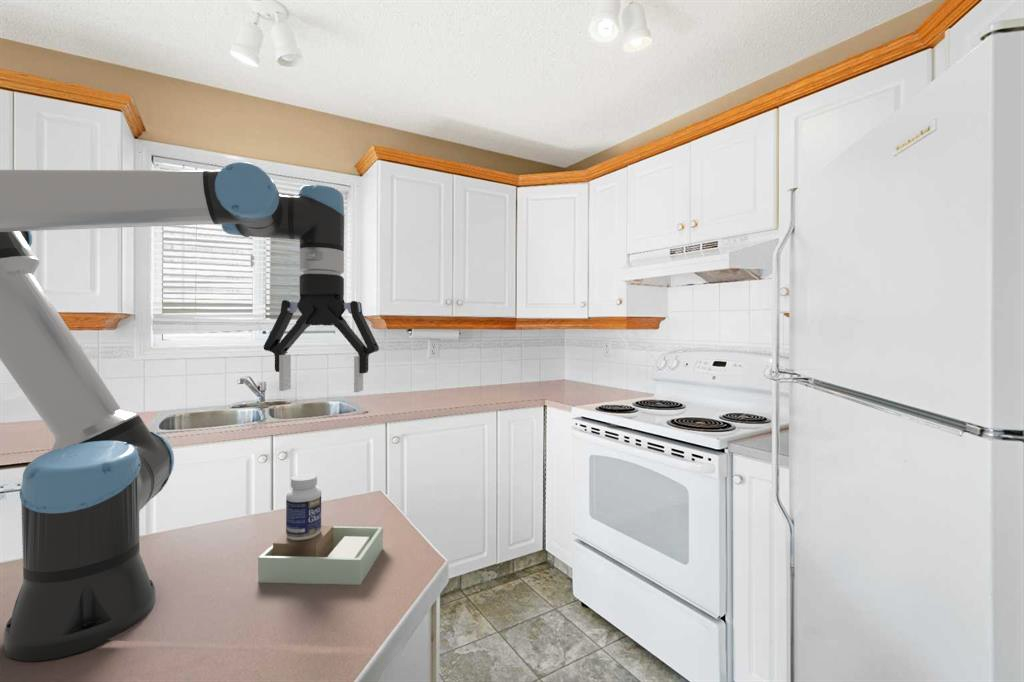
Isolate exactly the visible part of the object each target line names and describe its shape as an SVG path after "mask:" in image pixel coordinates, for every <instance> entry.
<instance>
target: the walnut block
mask: <svg viewBox="0 0 1024 682" xmlns="http://www.w3.org/2000/svg"><path fill="white" fill-rule="evenodd" d="M333 526H334V525H321V531H320V533H319V534H318V535H317V536H315V537H314V538H311V539H307V540H299V541H296V540H290V539H288V538H287V536H286V531H285V532H284V533H283V534H282V535H280V537H279V538H277V539H276V540H274V542H273V543H272V545H273V556H298V557H328V555H329V554H330V553H331V552H332V551H333Z"/></svg>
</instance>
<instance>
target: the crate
mask: <svg viewBox="0 0 1024 682" xmlns="http://www.w3.org/2000/svg"><path fill="white" fill-rule="evenodd" d="M332 526H333V549H334V548H335V547H336V546H337V545H338V543H339V542H340V541H341V540H342V539H343V538H344V536H355V537H369V543H368V544H367V546H366V547H365V549H364V550H363V551H362V553H361V554H360V556H359V557H358V558H341V557H298V556H273V544H272V545H270V547H268V548H267V549H266V550H265V551H263V553H261V554H260V555H259V556H258V557H257V573H258V574H257V577H258V578H257V580H258V581H257V583H259V584H260V583H264V584H266V583H268V584H270V583H271V584H302V585H303V584H305V585H307V584H308V585H310V584H312V585H345V586H346V585H347V586H350V585H353V586H361V584H362V583H363V581H364V580H365V578H366V576H367V575H368V573H369V572H370V570H371V568H372V567H373V565H374V564H375V562H376V560H377V559H378V557H379V556H380V554H381V552H382V551H383V549H384V548H383V547H384V546H383V544H384V540H383V539H384V528H383V527H382V526H351V525H350V526H349V525H348V526H347V525H346V526H345V525H343V526H342V525H339V526H338V525H337V526H336V525H332Z"/></svg>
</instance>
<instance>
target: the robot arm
mask: <svg viewBox="0 0 1024 682" xmlns="http://www.w3.org/2000/svg"><path fill="white" fill-rule="evenodd" d="M344 206H345V205H344V196H343V193H342V192H341V191H339V190H338V189H337V188H335V187H333V186H329V185H322V184H315V185H314V184H305V185H302V186H301V187H300V188H299V192H298V196H297V195H293V196H292V195H282V194H280V192H279V190H278V188H277V186H276V184H275V182H274V181H273V179H272V178H271V176H270V175H269V174H268V173H267V172H266V171H265V170H263V169H262V168H260V167H259V166H257V165H256V164H253V163H250V162H246V161H234V162H232V163H229V164H228V165H226V166H224V167H222V168H221V169H214V170H213V169H212V170H211V169H210V170H156V169H155V170H152V169H150V170H146V169H145V170H144V169H143V170H135V169H134V170H133V169H131V170H126V169H123V170H121V169H119V170H118V169H116V170H113V169H111V170H110V169H108V170H107V169H106V170H105V169H104V170H103V169H100V170H99V169H96V170H95V169H84V170H83V169H0V361H1V362H2V364H3V366H5V368H6V370H7V371H8V373H10V375H11V376H12V378H13V380H14V381H15V383H16V384H17V385H18V387H19V388H20V389H21V390H22V392H23V394H24V395H25V397H26V398H27V400H28V401H29V402H30V404H31V405H32V406H33V408H34V410H35V412H36V413H37V414H38V415H39V418H41V419H42V421H43V422H44V424H45V426H46V427H47V428H48V429H49V431H50V433H51V434H52V435H53V437H54V439H55V441H54V443H53V445H52V448H51V451H48V452H46V453H43V454H41V455H39V456H38V457H35V458H34V459H33V460H32V461H30V463H28V464H27V466H26V467H25V469H24V470H23V473H22V480H21V481H22V483H21V488H20V490H19V498H20V504H21V536H22V538H21V539H22V540H21V541H22V542H21V543H22V570H23V573H22V577H23V579H22V585H21V587H20V589H19V593H18V595H17V598H16V600H15V603H14V606H13V609H12V613H11V617H10V618H9V619H8V621H7V623H6V624H5V627H4V631H3V651H4V653H5V655H6V656H7V657H9V658H11V659H14V660H17V661H26V662H36V661H47V660H52V659H54V660H55V659H58V658H59V659H60V658H64V657H68V656H72V655H75V654H78V653H81V652H84V651H87V650H88V651H89V650H91V649H94V648H96V647H99V646H101V645H104V644H106V643H108V642H111V641H112V639H111V638H113V637H115V636H118V635H120V634H121V633H123V632H125V631H127V630H128V629H130V628H132V627H134V626H135V625H136V624H138V623H139V622H141V621H142V620H144V618H145V617H147V616H148V615H149V613H151V611H152V610H153V609H154V607H155V605H156V587H155V584H154V582H153V581H152V579H150V577H149V574H148V572H147V569H146V566H145V563H144V561H143V558H142V556H141V552H140V551H141V550H140V536H141V535H140V512H141V510H142V509H143V508H144V507H145V506H146V505H147V504H148V503H149V502H150V501H151V500H152V499H153V498H154V497H156V496H157V495H158V494H159V493H160V492H162V490H163V489H164V487H166V484H167V483H168V481H169V479H170V476H171V474H172V472H173V470H174V466H175V457H174V456H175V455H174V451H173V448H172V447H171V445H170V443H169V442H168V441H167V440H166V438H164V437H163V436H162V435H160V434H159V433H157V432H155V431H151V430H149V428H148V427H147V425H146V424H145V422H144V421H143V420H142V418H141V415H139V414H138V413H137V412H132V411H127V410H124V409H122V408H121V407H120V405H119V403H118V402H117V401H116V399H115V398H114V395H113V394H112V392H111V391H110V389H109V388H108V387H107V385H106V384H105V382H104V381H103V379H102V378H101V376H100V374H99V373H98V372H97V370H96V369H95V367H94V365H93V364H92V362H91V361H90V359H89V358H88V356H87V354H86V353H85V351H84V350H83V348H82V347H81V346H80V344H79V343H78V340H77V339H76V338H75V336H74V335H73V333H72V332H71V330H70V328H69V327H68V326H67V324H66V323H65V321H64V320H63V318H62V316H61V315H60V313H59V312H58V311H57V308H56V307H55V306H54V304H53V303H52V301H51V299H50V298H49V297H48V295H47V294H46V292H45V290H44V289H43V288H42V286H41V284H40V283H39V282H38V280H37V278H36V276H35V272H36V270H37V268H38V266H39V265H40V260H39V259H38V257H37V256H36V254H35V253H34V251H33V249H32V247H31V246H32V245H33V236H32V232H34V231H36V232H37V231H40V232H42V231H61V230H62V231H63V230H64V231H65V230H88V229H91V230H92V229H115V228H116V229H117V228H121V229H122V228H140V227H141V228H144V227H146V228H147V227H167V226H168V227H169V226H192V225H193V226H195V225H197V226H198V225H221V228H222V230H223V231H224V233H225V234H228V235H235V236H241V237H244V238H249V237H253V238H269V239H271V238H272V239H282V240H283V239H285V240H296V241H297V240H299V271H300V272H302V274H300V275H299V301H298V302H297V301H293V300H289V299H288V300H287V299H284V300H282V301H281V306H280V313H279V314H278V317H277V319H276V321H275V322H274V324H273V327H272V328H271V331H270V333H269V335H268V337H267V339H266V341H265V343H264V344H263V349H264V351H266V352H267V351H268V352H271V353H273V355H274V371H275V372H276V373H277V372H278V373H279V375H278V381H279V383H278V384H279V385H278V387H279V388H278V391H279V392H284V391H288V390H291V387H292V385H291V379H292V377H291V375H292V374H291V370H292V368H291V364H292V362H291V360H292V359H291V358H292V357H291V355H292V354H291V353H289V352H288V350H290V348H291V347H292V346H293V345H294V344H295V342H296V341H297V340H298V339H299V338H300V337H301V335H302V334H303V333H304V332H305V331H306V329H308V328H309V327H310V326H334V327H335V328H337V330H338V331H339V332H340V333H341V334H342V336H343V337H344V338H345V339H346V341H347V342H348V343H349V344H350V346H352V348H353V349H354V350H355V352H356V353H357V354H358V355H354V357H353V359H354V360H353V363H354V364H353V393H360V392H362V391H364V374H366V373H368V372H369V357H370V355H371V354H373V353H377V352H378V351H379V350H380V347H379V344H378V343H377V341H376V339H375V336H374V335H373V332H372V330H371V328H370V326H369V324H368V323H367V321H366V318H365V317H364V316H365V315H364V314H363V308H362V307H363V306H362V303H361V302H360V301H355V300H352V301H351V302H345V300H344V299H345V298H344V297H345V277H344V276H342V275H343V274H344V272H345V250H344V248H345V207H344ZM297 310H298V311H299V312H300V314H301V315H300V317H298V319H297V320H296V321H295V324H294V325H293V326H292V327H291V329H290V330H288V332H287V333H286V334H285V332H286V330H287V328H288V327H289V325H290V323H291V320H292V319H293V315H294V313H296V312H297ZM346 310H347V311H348V314H351V317H352V319H353V321H354V323H355V326H356V327H357V329H358V332H359V333H360V335H361V337H362V340H363V341H362V340H361V338H360V337H359V336H358V335H357V334H356V333H355V331H354V330H353V329H352V328H351V327H350V325H349V324H348V322H347V321H346V319H345V318H344V317H343V316H342V315H343V314H344V313H345V311H346ZM284 334H285V335H284ZM363 342H364V343H363Z"/></svg>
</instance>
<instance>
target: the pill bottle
mask: <svg viewBox="0 0 1024 682" xmlns="http://www.w3.org/2000/svg"><path fill="white" fill-rule="evenodd" d="M317 484H318V476H317V474H315V473H301V474H296V475H293V476H292V477H291V478H290V487H291V489H290V490H289V491H288V492H287V494H286V495H285V496H286V497H285V499H286V501H285V504H286V506H285V507H286V508H285V509H286V513H285V515H286V516H285V518H286V519H285V532H286V536H287V538H288V539H290V540H296V541H299V540H307V539H311V538H314V537H315V536H317V535H318V534H319V533H320V531H321V526H322V490H321V489H320V487H318V486H317Z"/></svg>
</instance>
